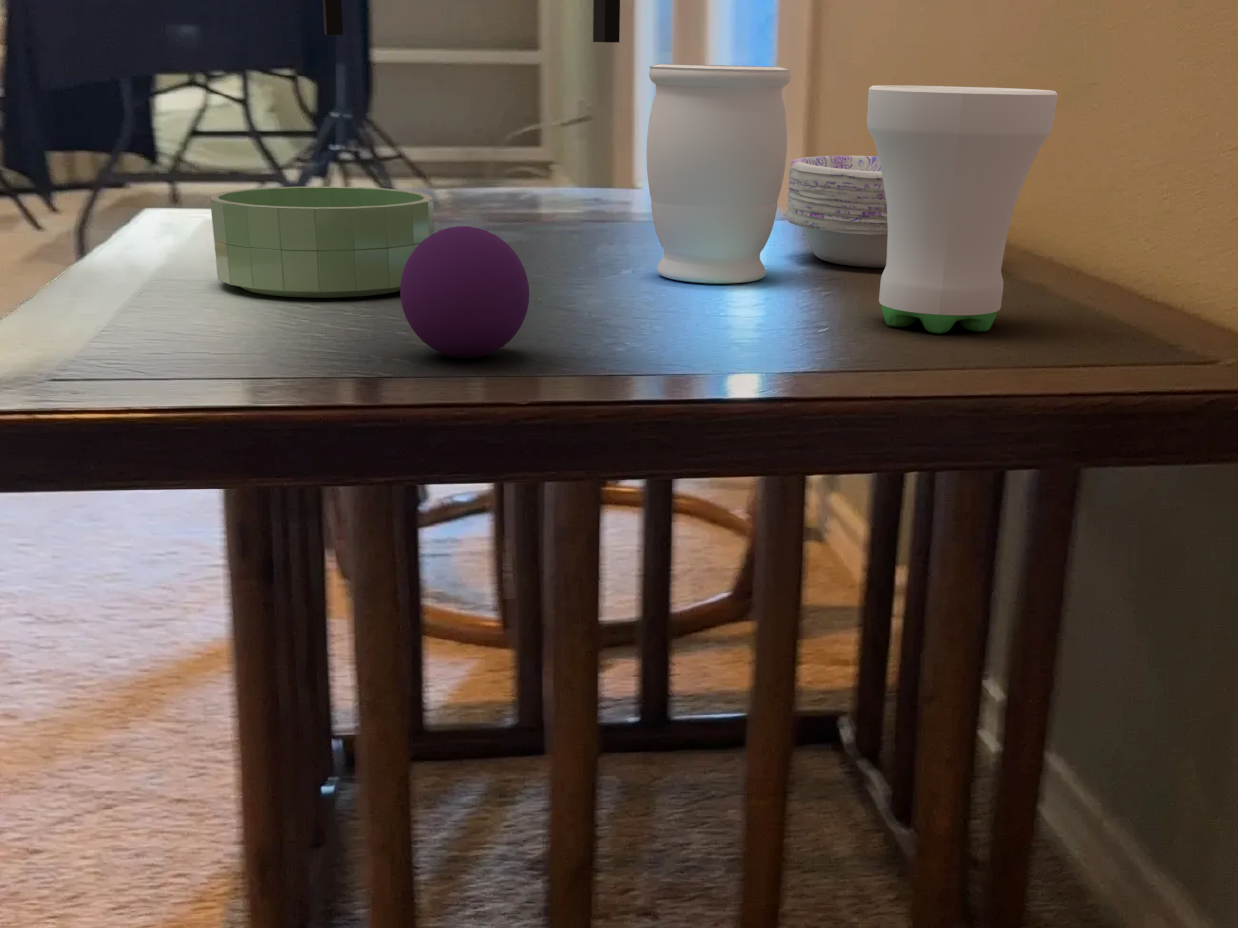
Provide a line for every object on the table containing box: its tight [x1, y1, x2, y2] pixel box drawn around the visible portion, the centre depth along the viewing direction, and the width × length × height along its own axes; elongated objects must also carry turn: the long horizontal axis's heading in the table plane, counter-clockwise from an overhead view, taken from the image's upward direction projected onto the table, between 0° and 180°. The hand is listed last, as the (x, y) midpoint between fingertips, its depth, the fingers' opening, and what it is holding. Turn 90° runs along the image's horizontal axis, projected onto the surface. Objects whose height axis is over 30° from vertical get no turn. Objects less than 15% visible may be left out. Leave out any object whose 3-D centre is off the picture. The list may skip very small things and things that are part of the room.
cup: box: [866, 84, 1059, 335], centre depth 86 cm, size 11×11×14 cm
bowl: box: [209, 185, 435, 299], centre depth 98 cm, size 15×15×6 cm
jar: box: [646, 63, 792, 285], centre depth 103 cm, size 11×10×15 cm
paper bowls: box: [786, 155, 888, 269], centre depth 115 cm, size 15×15×8 cm
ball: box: [399, 225, 530, 359], centre depth 75 cm, size 7×7×7 cm
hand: (473, 39), depth 69 cm, fingers open, 13 cm apart
